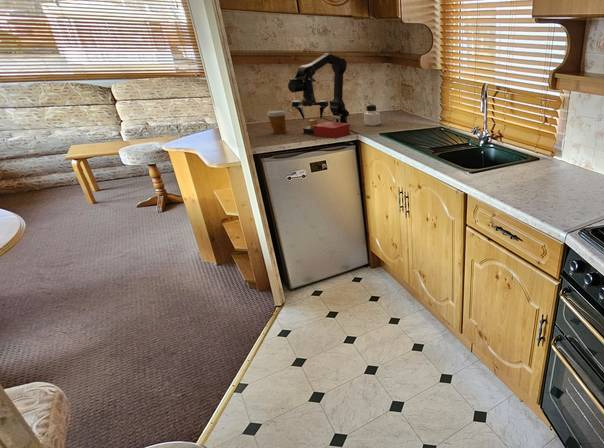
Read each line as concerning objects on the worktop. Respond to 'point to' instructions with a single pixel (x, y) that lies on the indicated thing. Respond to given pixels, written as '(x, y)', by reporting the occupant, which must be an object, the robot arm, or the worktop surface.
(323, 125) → the cabinet lid
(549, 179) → the worktop surface
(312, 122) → the valve knob
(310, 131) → the valve panel
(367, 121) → the medicine bottle
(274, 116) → the disposable coffee cup
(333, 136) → the red cabinet box
